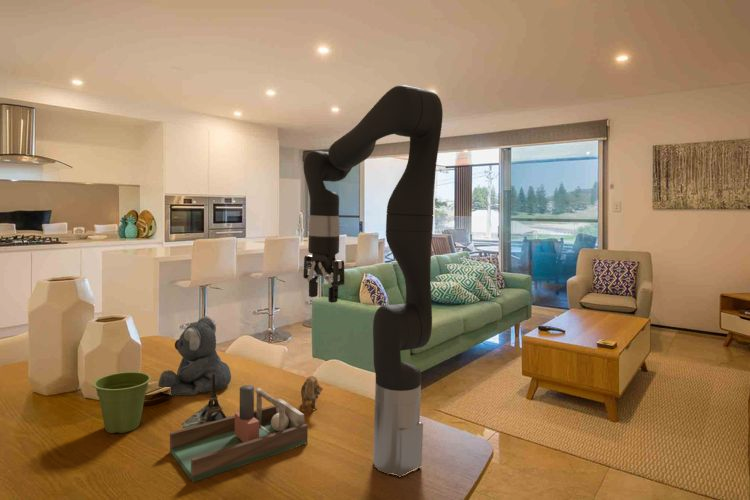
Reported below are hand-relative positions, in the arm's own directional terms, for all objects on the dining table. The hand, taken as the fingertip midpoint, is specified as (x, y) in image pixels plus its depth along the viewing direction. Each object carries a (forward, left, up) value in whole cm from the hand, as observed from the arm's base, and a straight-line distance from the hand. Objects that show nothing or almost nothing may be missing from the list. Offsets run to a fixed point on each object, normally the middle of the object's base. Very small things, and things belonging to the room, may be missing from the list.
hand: (322, 299), depth 120 cm
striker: (-4, +22, -28) cm, 36 cm away
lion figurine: (+6, -1, -30) cm, 30 cm away
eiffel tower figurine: (+14, +23, -30) cm, 40 cm away
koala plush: (+36, +18, -30) cm, 50 cm away
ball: (-4, +14, -26) cm, 30 cm away
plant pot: (+21, +41, -30) cm, 54 cm away
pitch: (-4, +23, -29) cm, 38 cm away
